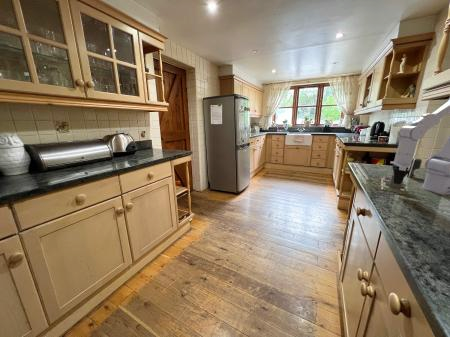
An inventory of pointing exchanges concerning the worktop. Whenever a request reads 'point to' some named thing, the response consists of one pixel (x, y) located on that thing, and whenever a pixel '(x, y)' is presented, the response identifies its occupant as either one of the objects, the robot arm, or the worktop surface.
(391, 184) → the plug
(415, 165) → the battery charger
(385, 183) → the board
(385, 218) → the worktop surface
